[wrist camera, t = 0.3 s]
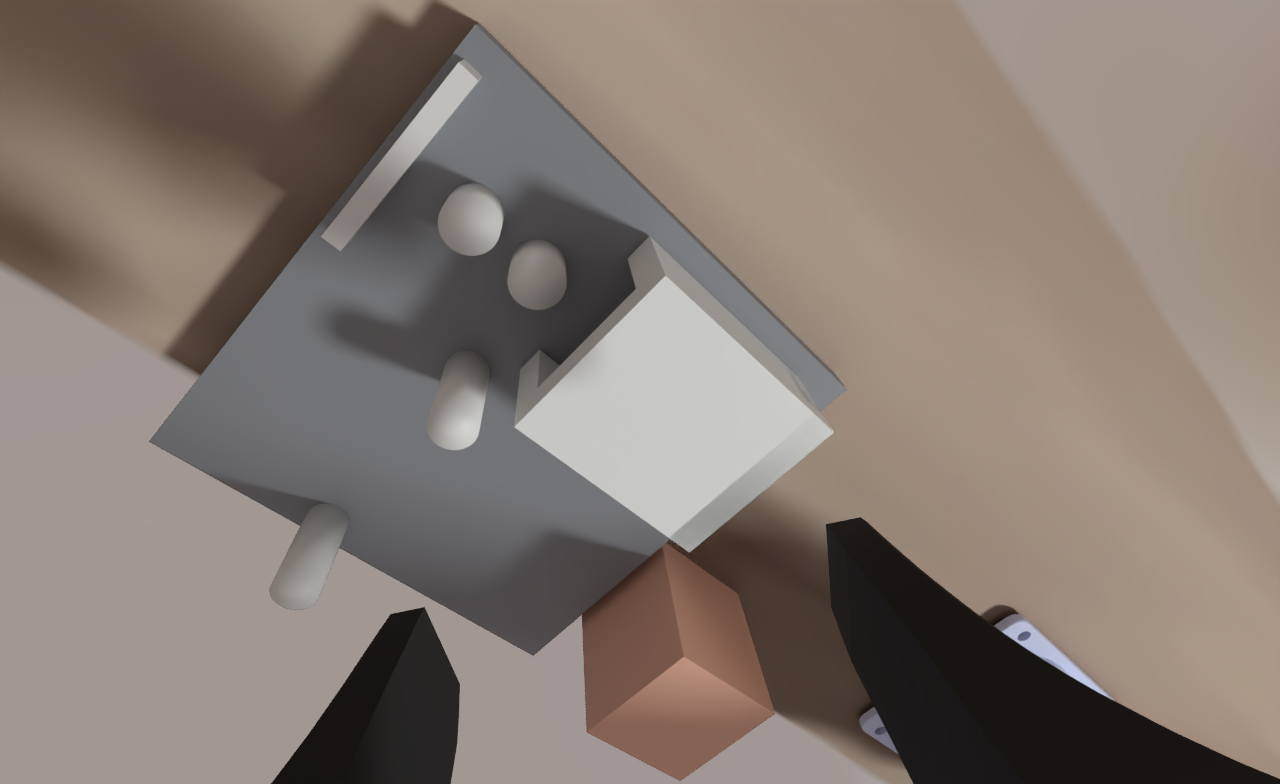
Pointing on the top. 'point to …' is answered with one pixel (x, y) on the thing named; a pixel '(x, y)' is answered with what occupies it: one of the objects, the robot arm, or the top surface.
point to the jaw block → (671, 666)
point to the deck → (451, 359)
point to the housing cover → (671, 405)
